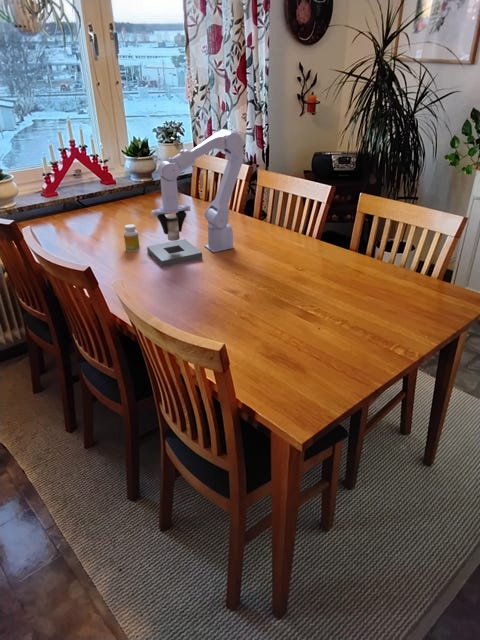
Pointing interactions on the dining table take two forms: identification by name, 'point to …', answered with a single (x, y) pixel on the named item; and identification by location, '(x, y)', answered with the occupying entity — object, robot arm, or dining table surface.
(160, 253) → the socket block
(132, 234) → the supplement bottle
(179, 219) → the robot arm
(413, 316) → the dining table surface
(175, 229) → the capped peg
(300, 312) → the dining table surface
